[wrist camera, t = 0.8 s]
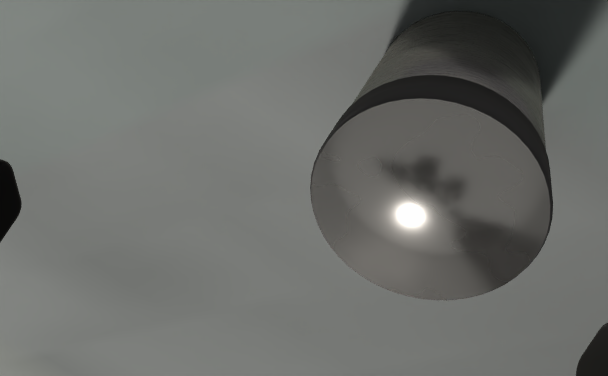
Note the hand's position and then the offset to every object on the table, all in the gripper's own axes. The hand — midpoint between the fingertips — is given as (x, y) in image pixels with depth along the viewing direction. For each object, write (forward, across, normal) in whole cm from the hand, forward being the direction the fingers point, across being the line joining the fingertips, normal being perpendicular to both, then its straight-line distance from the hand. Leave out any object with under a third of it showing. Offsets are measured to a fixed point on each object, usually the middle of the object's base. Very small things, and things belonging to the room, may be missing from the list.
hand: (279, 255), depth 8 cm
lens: (+11, -2, +2) cm, 11 cm away
